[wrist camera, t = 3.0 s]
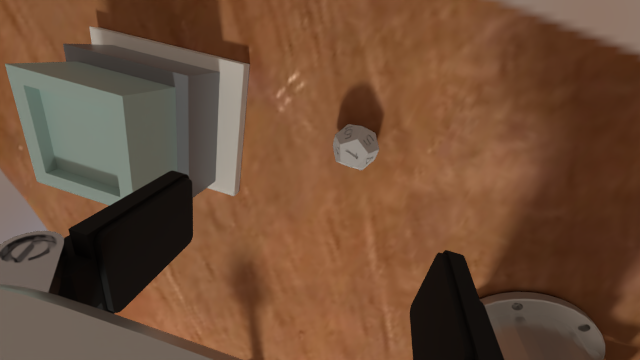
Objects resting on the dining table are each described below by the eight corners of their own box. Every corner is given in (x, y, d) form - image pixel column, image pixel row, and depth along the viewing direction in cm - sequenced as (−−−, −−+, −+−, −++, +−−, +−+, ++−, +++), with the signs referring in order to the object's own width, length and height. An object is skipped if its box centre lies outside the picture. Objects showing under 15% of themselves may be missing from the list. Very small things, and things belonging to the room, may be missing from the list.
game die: (351, 111, 23) (345, 119, 20) (388, 138, 23) (388, 149, 20) (327, 145, 25) (319, 157, 22) (362, 170, 25) (359, 184, 22)
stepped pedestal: (249, 64, 23) (168, 71, 15) (239, 191, 28) (174, 249, 20) (100, 27, 25) (-48, 15, 17) (116, 154, 30) (10, 193, 22)
